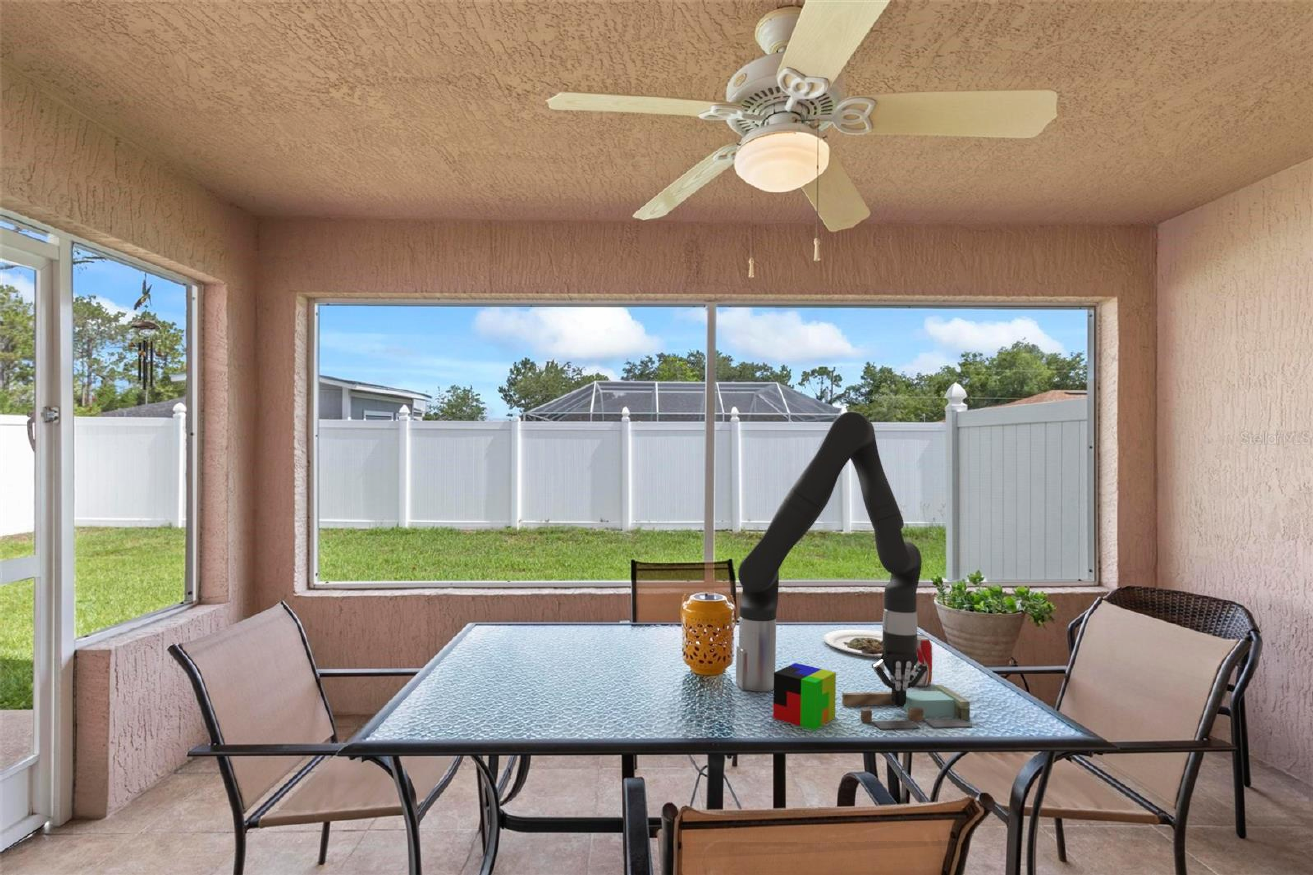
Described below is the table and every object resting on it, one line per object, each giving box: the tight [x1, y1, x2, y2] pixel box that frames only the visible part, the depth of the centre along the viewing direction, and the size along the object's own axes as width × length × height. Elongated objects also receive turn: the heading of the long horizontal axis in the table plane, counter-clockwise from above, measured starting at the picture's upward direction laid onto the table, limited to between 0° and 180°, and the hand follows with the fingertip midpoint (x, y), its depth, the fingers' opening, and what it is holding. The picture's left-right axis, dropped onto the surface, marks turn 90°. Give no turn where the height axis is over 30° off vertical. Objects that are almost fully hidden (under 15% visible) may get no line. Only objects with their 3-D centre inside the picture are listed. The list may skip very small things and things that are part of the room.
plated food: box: [823, 629, 883, 659], centre depth 210 cm, size 30×30×3 cm
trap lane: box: [841, 684, 973, 731], centre depth 153 cm, size 25×16×4 cm, turn 97°
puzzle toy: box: [772, 662, 837, 731], centre depth 150 cm, size 10×10×10 cm
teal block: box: [900, 690, 956, 718], centre depth 156 cm, size 10×6×4 cm, turn 97°
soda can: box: [910, 633, 933, 687], centre depth 176 cm, size 7×7×12 cm
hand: (898, 705), depth 155 cm, fingers closed
